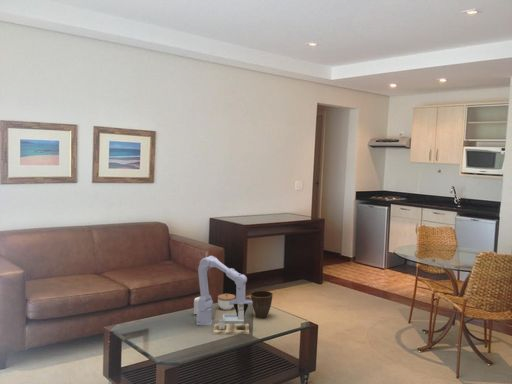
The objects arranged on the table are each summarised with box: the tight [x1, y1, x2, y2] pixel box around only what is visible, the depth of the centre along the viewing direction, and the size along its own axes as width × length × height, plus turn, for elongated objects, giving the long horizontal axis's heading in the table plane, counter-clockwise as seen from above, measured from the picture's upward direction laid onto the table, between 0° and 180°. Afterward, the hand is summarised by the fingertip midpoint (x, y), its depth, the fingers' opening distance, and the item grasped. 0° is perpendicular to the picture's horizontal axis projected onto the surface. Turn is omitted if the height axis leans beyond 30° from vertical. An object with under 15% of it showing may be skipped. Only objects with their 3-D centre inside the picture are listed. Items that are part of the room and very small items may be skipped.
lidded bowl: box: [217, 292, 236, 311], centre depth 343 cm, size 13×13×11 cm
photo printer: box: [193, 296, 200, 315], centre depth 330 cm, size 10×4×12 cm, turn 98°
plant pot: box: [250, 290, 274, 319], centre depth 327 cm, size 15×15×16 cm
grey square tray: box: [222, 313, 245, 324], centre depth 318 cm, size 14×14×2 cm
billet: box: [218, 318, 226, 330], centre depth 302 cm, size 4×6×6 cm, turn 2°
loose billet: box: [238, 306, 245, 321], centre depth 303 cm, size 4×6×6 cm, turn 5°
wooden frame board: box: [212, 323, 250, 335], centre depth 302 cm, size 22×14×2 cm, turn 92°
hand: (240, 315), depth 303 cm, fingers closed on loose billet, 4 cm apart
